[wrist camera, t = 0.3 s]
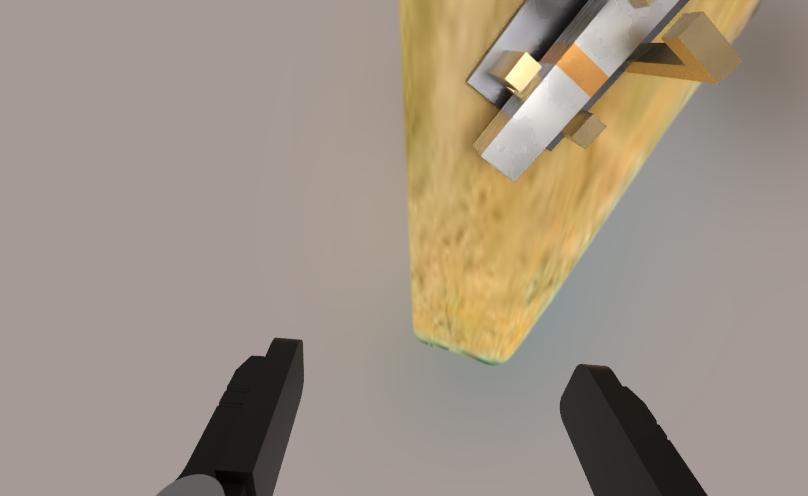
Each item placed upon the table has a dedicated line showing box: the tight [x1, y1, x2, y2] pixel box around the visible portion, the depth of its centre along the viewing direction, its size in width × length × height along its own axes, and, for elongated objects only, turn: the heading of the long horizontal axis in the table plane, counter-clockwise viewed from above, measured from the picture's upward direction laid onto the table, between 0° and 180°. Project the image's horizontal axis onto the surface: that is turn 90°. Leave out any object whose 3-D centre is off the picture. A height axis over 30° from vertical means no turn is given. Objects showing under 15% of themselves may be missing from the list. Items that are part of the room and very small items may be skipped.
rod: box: [473, 0, 679, 182], centre depth 26 cm, size 20×4×4 cm, turn 144°
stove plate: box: [466, 0, 689, 151], centre depth 29 cm, size 16×10×1 cm, turn 144°
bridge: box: [621, 0, 743, 84], centre depth 24 cm, size 2×10×10 cm, turn 54°
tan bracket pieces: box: [488, 50, 607, 149], centre depth 25 cm, size 14×8×6 cm, turn 144°
